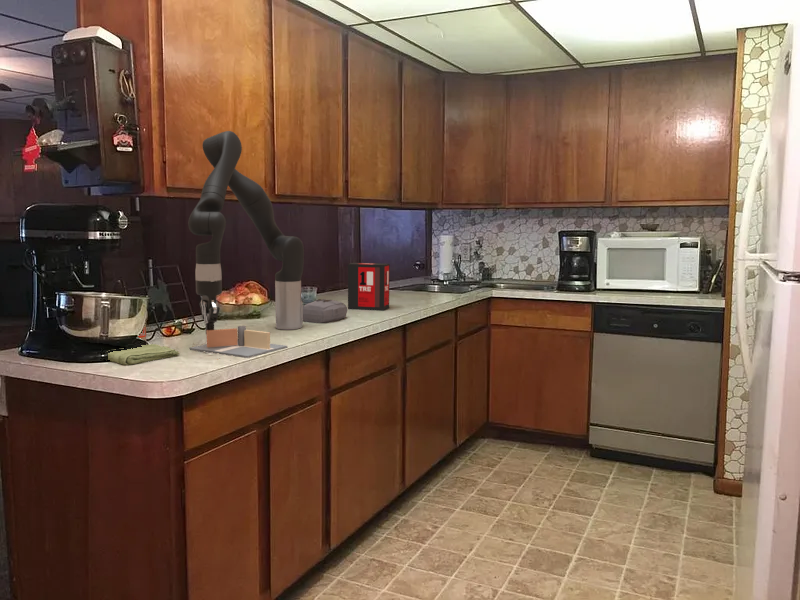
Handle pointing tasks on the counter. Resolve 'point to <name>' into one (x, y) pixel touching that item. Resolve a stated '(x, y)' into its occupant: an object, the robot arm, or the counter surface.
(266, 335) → the slate board
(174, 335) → the counter surface
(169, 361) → the counter surface
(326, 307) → the soft grey pack
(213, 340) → the salmon long narrow block
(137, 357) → the washcloth
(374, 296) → the cleaning product box
